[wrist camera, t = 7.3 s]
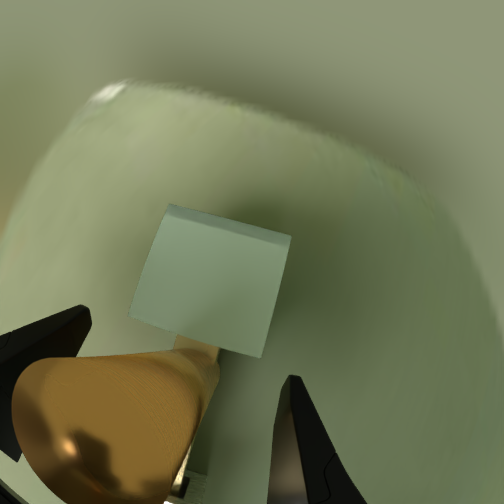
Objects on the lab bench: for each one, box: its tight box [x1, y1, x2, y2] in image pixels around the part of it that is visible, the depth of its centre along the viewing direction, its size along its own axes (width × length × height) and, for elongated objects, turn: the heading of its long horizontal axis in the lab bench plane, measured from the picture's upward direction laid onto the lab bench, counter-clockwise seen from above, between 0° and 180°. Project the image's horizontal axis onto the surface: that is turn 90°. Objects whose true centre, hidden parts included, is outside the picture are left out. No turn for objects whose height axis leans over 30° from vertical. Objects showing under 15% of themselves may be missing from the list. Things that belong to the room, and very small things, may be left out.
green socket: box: [128, 204, 292, 359], centre depth 14 cm, size 6×6×6 cm
